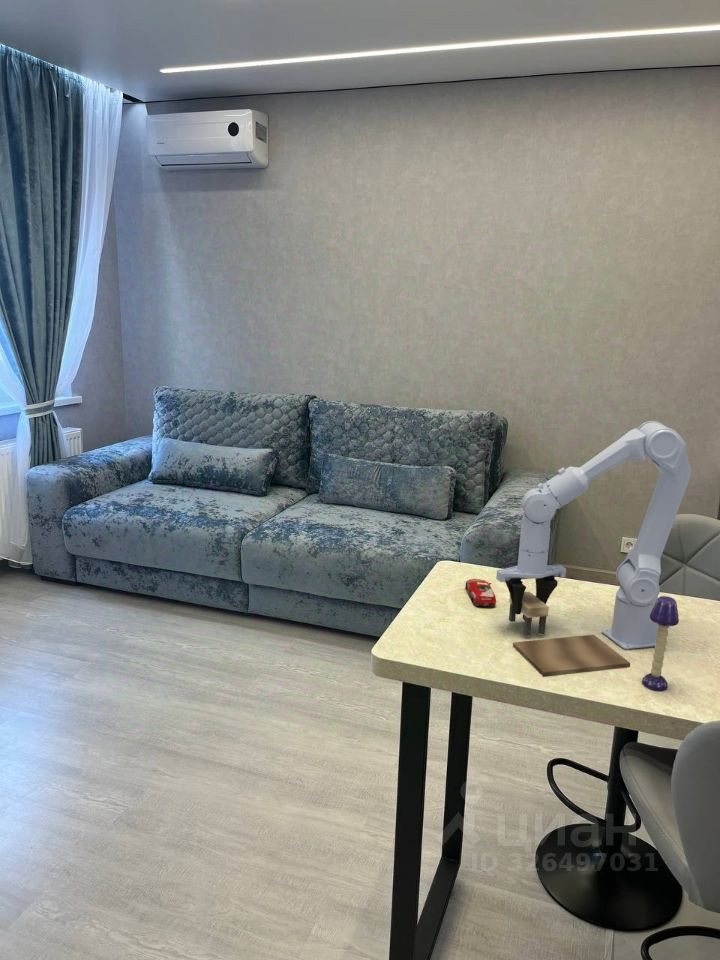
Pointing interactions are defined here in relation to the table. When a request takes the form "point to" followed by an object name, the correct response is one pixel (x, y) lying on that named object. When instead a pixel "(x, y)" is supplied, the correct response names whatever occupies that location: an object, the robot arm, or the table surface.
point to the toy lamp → (661, 640)
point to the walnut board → (570, 655)
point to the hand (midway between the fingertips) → (527, 611)
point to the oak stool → (531, 612)
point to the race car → (480, 592)
